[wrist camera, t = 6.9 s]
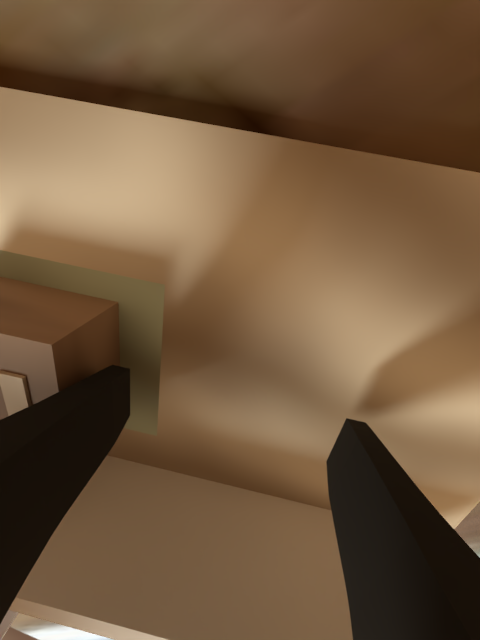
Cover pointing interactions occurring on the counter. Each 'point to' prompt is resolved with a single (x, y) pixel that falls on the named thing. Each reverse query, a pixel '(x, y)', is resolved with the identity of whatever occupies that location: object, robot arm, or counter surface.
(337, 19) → the counter surface
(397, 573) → the robot arm
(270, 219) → the birch board
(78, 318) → the walnut block
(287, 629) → the beige rectangular slab
